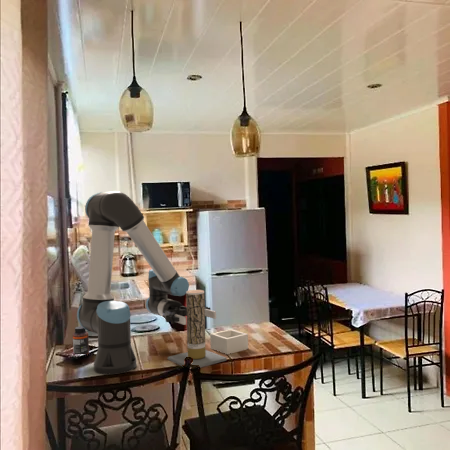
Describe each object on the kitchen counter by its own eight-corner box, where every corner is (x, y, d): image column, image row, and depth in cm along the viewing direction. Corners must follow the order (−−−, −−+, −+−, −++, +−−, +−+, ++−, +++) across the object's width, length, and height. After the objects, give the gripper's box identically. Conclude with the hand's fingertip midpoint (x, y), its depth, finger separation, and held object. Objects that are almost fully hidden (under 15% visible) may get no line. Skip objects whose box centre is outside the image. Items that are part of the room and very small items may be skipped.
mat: (190, 370, 166) (190, 367, 166) (167, 359, 179) (167, 356, 179) (226, 360, 176) (226, 357, 176) (202, 350, 189) (202, 348, 188)
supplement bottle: (82, 352, 191) (81, 324, 191) (92, 354, 188) (91, 326, 187) (70, 356, 186) (69, 328, 186) (80, 358, 183) (79, 329, 182)
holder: (227, 354, 183) (226, 339, 183) (210, 348, 192) (210, 333, 191) (248, 348, 190) (247, 334, 190) (231, 343, 198) (231, 329, 198)
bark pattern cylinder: (203, 360, 173) (201, 293, 172) (185, 359, 175) (183, 293, 173) (207, 354, 180) (206, 289, 179) (190, 353, 181) (189, 289, 180)
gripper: (196, 313, 199) (227, 322, 182) (143, 323, 183) (172, 334, 167) (195, 296, 198) (226, 303, 182) (143, 304, 183) (171, 313, 166)
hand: (200, 318), depth 174 cm, fingers open, 13 cm apart
